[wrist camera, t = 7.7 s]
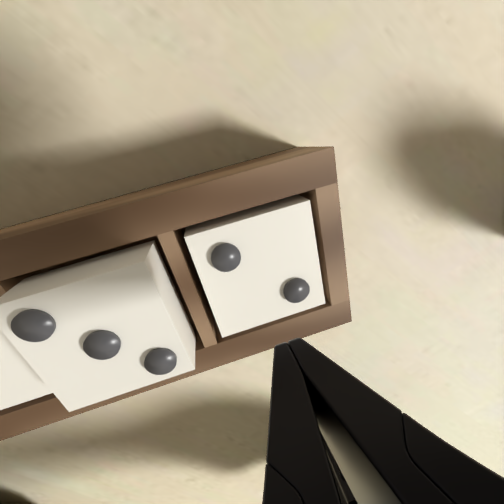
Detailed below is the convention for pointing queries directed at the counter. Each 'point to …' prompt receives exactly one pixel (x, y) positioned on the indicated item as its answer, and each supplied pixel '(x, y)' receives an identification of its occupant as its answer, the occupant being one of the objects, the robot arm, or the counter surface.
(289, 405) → the robot arm
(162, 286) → the tile three pips
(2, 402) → the tile one pip
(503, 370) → the counter surface
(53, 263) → the tile panel
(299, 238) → the tile two pips
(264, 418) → the counter surface
